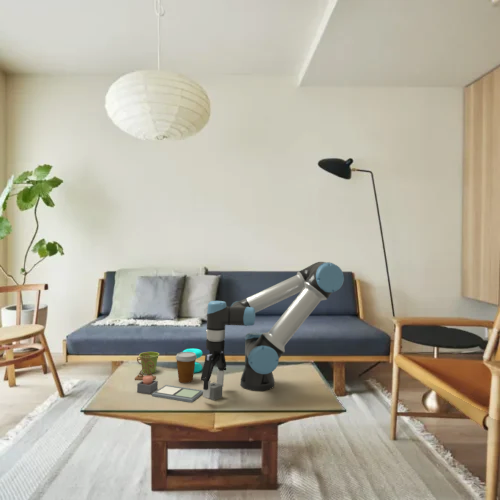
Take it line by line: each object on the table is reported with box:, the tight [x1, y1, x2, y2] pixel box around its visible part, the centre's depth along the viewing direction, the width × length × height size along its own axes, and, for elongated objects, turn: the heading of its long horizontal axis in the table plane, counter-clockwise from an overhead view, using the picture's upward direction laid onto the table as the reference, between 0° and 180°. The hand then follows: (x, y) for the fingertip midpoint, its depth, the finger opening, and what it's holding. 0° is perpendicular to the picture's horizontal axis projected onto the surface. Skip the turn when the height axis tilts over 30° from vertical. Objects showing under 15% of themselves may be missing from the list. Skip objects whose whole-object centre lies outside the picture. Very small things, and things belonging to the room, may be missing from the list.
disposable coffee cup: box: [175, 351, 198, 384], centre depth 178 cm, size 10×10×12 cm
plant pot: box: [138, 351, 160, 375], centre depth 189 cm, size 9×9×9 cm
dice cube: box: [204, 381, 223, 401], centre depth 159 cm, size 5×5×5 cm
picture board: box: [151, 384, 203, 403], centre depth 161 cm, size 18×11×1 cm, turn 71°
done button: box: [143, 375, 154, 385], centre depth 165 cm, size 4×4×4 cm
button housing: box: [136, 380, 159, 395], centre depth 165 cm, size 6×6×4 cm
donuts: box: [182, 347, 204, 374], centre depth 193 cm, size 10×10×10 cm
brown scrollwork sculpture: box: [134, 352, 157, 381], centre depth 179 cm, size 9×4×12 cm, turn 88°
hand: (213, 391), depth 159 cm, fingers open, 13 cm apart
